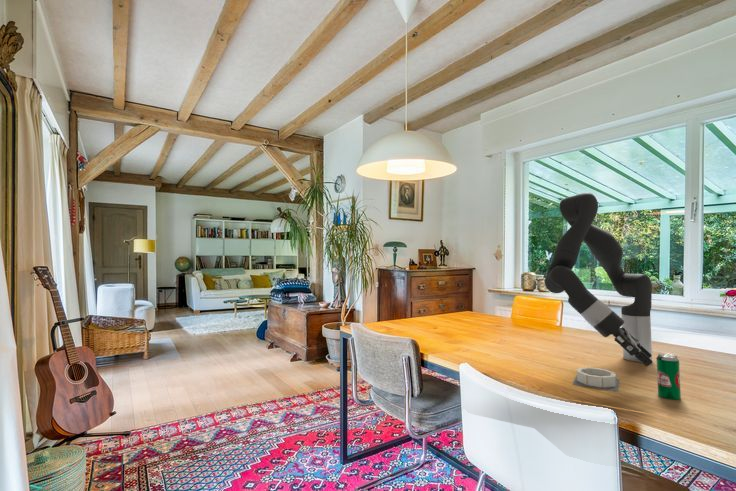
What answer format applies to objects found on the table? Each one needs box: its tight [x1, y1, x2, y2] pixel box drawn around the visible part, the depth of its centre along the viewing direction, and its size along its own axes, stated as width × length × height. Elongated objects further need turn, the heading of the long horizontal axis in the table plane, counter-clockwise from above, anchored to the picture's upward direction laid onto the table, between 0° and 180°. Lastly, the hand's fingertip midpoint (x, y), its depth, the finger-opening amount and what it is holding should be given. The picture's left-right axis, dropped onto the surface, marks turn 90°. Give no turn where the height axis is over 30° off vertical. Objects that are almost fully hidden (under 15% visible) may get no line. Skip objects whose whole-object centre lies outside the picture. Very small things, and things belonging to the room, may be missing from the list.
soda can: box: [655, 353, 682, 401], centre depth 107 cm, size 5×5×12 cm
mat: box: [572, 374, 620, 393], centre depth 120 cm, size 14×12×1 cm
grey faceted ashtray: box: [576, 366, 617, 388], centre depth 120 cm, size 10×10×3 cm
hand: (649, 360), depth 109 cm, fingers open, 8 cm apart
